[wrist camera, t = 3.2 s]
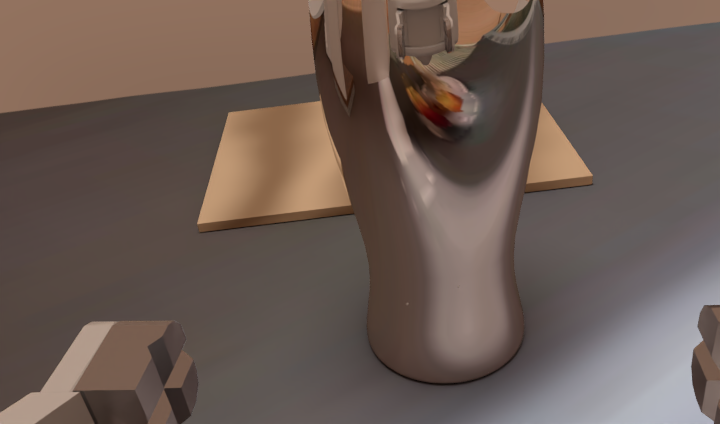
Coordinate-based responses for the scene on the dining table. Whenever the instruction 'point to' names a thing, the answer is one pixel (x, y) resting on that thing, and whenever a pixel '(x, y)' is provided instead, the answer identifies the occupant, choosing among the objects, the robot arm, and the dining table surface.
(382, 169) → the beer glass
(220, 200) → the placemat
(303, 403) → the dining table surface
